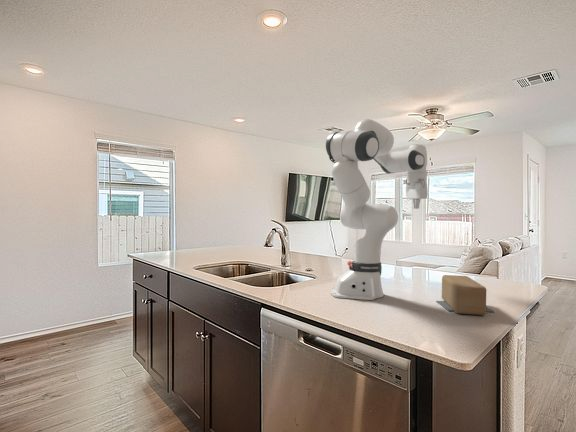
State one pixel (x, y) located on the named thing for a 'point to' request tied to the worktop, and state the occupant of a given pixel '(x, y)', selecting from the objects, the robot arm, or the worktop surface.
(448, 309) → the mat
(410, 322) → the worktop surface
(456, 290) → the wooden block
